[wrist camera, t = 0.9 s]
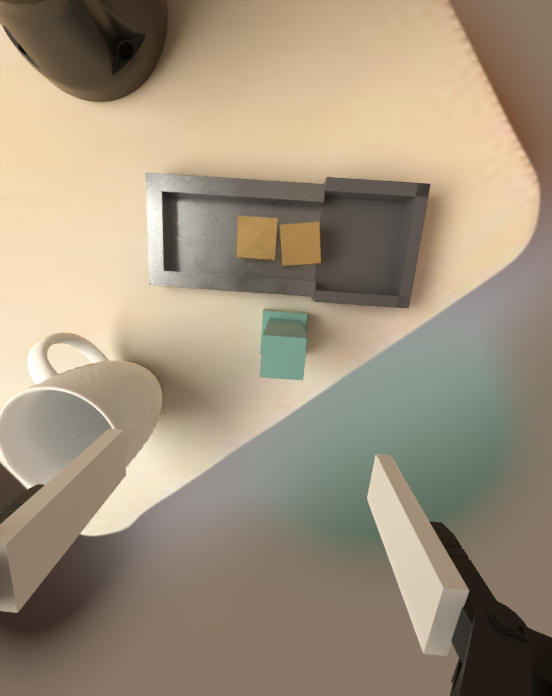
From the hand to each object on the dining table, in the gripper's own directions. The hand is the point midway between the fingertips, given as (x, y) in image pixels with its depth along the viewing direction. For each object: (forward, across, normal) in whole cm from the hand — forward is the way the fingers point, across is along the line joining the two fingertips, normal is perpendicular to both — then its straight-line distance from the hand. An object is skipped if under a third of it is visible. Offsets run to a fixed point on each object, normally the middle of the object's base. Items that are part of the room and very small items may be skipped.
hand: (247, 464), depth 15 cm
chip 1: (+21, -2, +13) cm, 25 cm away
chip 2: (+21, +2, +13) cm, 25 cm away
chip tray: (+21, +9, +13) cm, 27 cm away
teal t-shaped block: (+21, +2, +3) cm, 22 cm away
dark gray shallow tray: (+22, -5, +13) cm, 26 cm away
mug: (+22, -17, -5) cm, 28 cm away
